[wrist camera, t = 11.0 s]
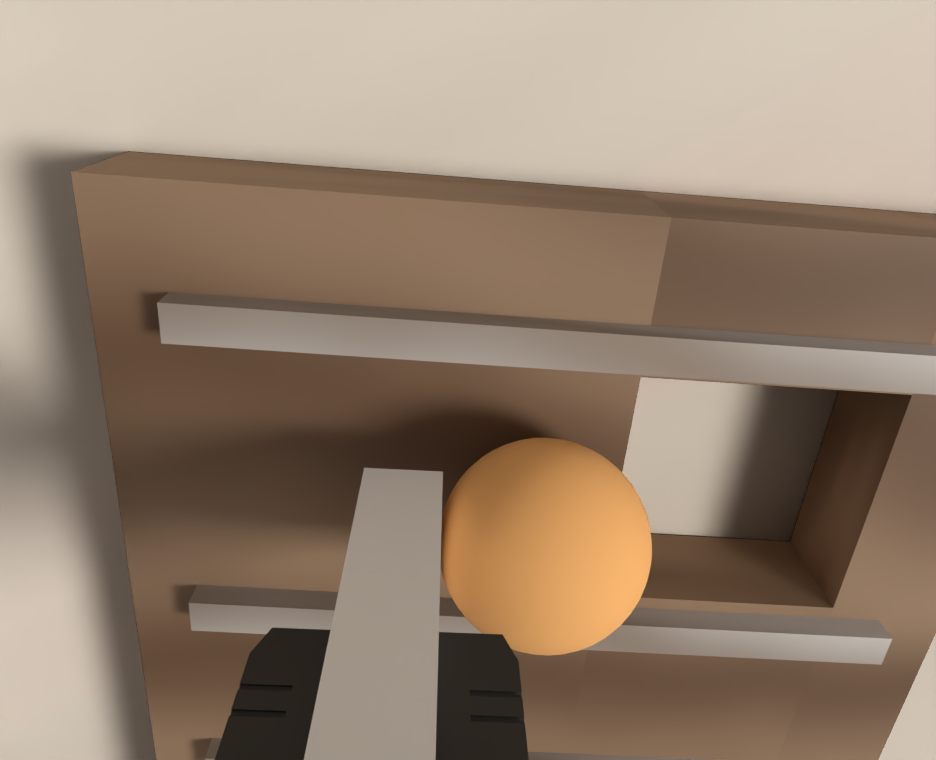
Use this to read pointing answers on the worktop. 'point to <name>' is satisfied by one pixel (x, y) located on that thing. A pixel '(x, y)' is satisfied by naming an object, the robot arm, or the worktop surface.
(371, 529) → the robot arm
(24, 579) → the worktop surface
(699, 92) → the worktop surface
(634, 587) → the orange ball
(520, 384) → the hole deck
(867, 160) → the worktop surface
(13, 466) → the worktop surface
